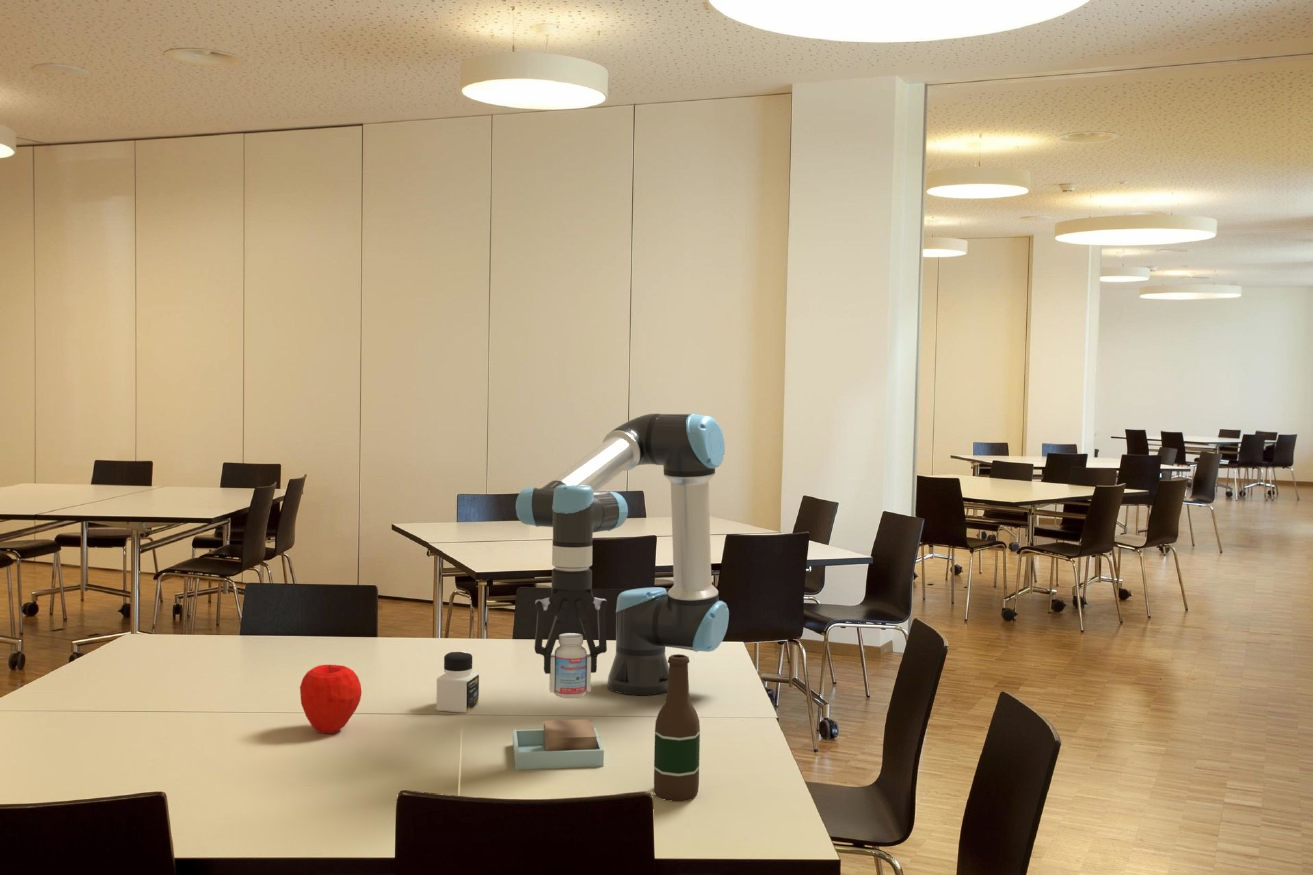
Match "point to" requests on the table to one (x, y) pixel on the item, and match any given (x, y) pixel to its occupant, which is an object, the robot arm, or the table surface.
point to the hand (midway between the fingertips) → (569, 689)
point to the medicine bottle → (457, 684)
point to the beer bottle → (677, 738)
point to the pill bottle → (570, 666)
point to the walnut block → (569, 735)
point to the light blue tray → (551, 753)
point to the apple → (330, 696)
